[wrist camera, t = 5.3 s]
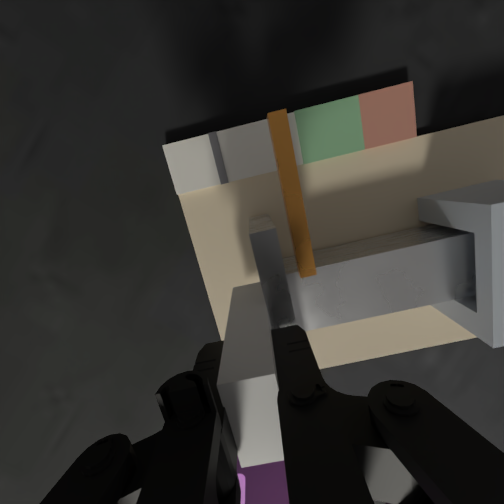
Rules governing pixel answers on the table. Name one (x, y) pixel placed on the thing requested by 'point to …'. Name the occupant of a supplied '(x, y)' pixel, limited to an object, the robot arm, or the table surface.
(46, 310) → the table surface
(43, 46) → the table surface
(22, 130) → the table surface
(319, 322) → the grey sliding clamp
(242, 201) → the beige mechanism board
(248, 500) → the bracket
